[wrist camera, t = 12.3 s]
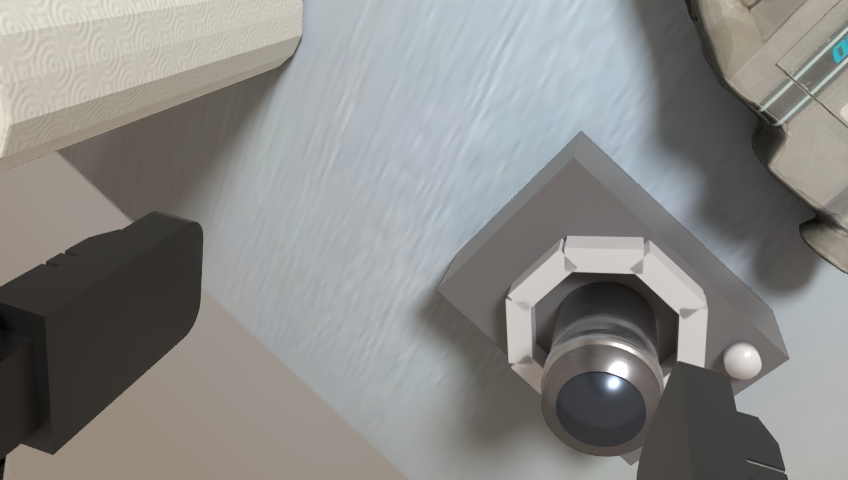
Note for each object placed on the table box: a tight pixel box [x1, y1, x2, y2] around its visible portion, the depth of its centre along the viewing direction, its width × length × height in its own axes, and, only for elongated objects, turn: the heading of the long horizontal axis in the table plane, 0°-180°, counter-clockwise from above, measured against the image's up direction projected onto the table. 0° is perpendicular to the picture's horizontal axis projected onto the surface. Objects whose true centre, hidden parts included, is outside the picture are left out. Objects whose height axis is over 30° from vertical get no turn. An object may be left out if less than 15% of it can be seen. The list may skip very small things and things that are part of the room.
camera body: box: [437, 131, 789, 465], centre depth 38 cm, size 14×10×6 cm
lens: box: [541, 281, 664, 456], centre depth 33 cm, size 5×5×7 cm
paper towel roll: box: [0, 0, 303, 172], centre depth 31 cm, size 7×6×21 cm
